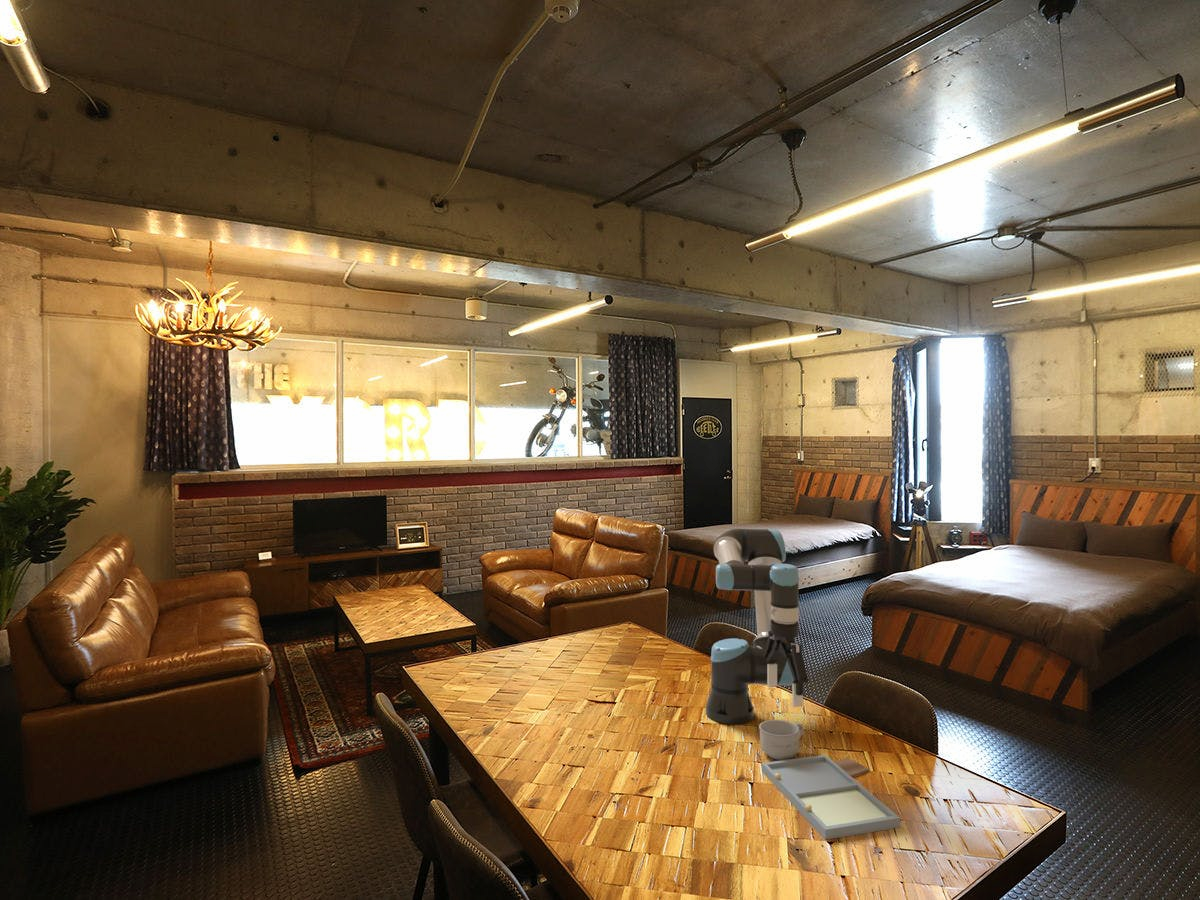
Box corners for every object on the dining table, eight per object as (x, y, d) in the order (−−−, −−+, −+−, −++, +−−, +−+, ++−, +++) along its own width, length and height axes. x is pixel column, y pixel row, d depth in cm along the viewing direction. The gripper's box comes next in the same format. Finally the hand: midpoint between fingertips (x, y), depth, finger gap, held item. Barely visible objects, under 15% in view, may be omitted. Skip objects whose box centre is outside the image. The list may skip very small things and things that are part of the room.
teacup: (772, 767, 165) (772, 737, 165) (752, 748, 176) (752, 720, 176) (817, 760, 169) (817, 731, 169) (794, 741, 180) (794, 714, 180)
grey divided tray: (761, 771, 163) (761, 760, 163) (825, 762, 168) (825, 751, 168) (824, 839, 135) (824, 826, 135) (899, 827, 139) (899, 814, 139)
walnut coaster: (829, 767, 166) (829, 763, 166) (847, 761, 169) (847, 757, 169) (850, 779, 160) (850, 775, 160) (869, 773, 163) (869, 769, 163)
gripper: (751, 609, 183) (751, 680, 184) (796, 634, 159) (796, 716, 159) (774, 608, 185) (774, 678, 185) (822, 632, 161) (822, 713, 161)
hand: (784, 695), depth 172 cm, fingers open, 13 cm apart
